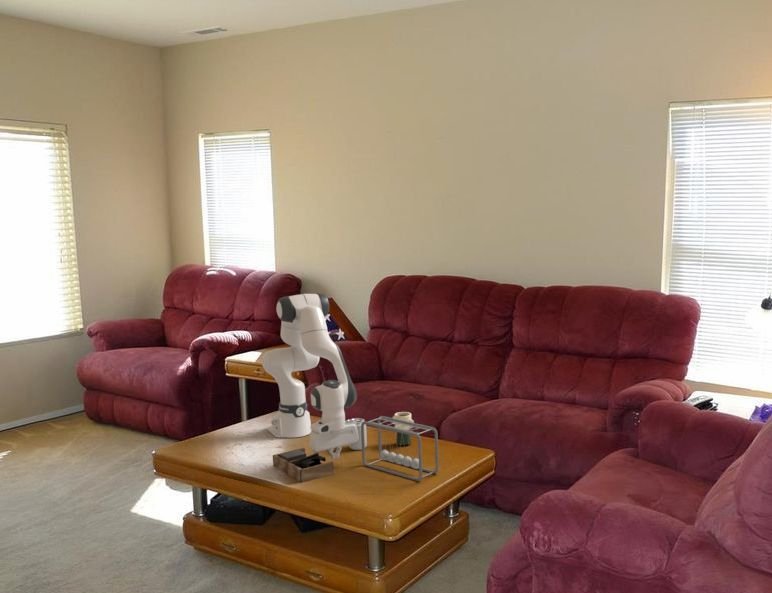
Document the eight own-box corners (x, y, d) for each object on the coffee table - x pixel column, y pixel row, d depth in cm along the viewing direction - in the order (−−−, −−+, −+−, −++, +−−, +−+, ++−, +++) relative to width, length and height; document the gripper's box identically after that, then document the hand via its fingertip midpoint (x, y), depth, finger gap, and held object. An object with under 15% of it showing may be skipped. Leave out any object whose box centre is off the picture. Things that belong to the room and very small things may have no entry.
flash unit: (281, 467, 290) (280, 454, 290) (300, 462, 295) (299, 449, 294) (288, 471, 285) (287, 458, 285) (307, 466, 290) (307, 453, 290)
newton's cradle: (439, 474, 277) (438, 427, 275) (421, 482, 269) (419, 434, 267) (380, 458, 297) (378, 414, 295) (361, 465, 290) (360, 420, 287)
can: (364, 451, 306) (363, 422, 305) (347, 450, 308) (345, 422, 306) (368, 445, 314) (367, 417, 312) (351, 444, 315) (350, 417, 314)
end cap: (314, 468, 288) (313, 451, 288) (327, 472, 284) (326, 454, 283) (294, 475, 281) (293, 458, 280) (307, 479, 276) (307, 462, 275)
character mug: (419, 444, 312) (418, 413, 311) (409, 448, 307) (408, 418, 305) (398, 439, 319) (397, 410, 318) (388, 444, 314) (387, 414, 312)
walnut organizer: (273, 466, 292) (272, 455, 291) (304, 458, 300) (303, 447, 299) (301, 482, 273) (301, 470, 273) (333, 473, 281) (333, 462, 281)
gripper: (352, 416, 295) (353, 450, 297) (306, 426, 284) (308, 461, 285) (361, 419, 290) (362, 454, 292) (314, 430, 279) (316, 465, 280)
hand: (335, 457), depth 289 cm, fingers closed
